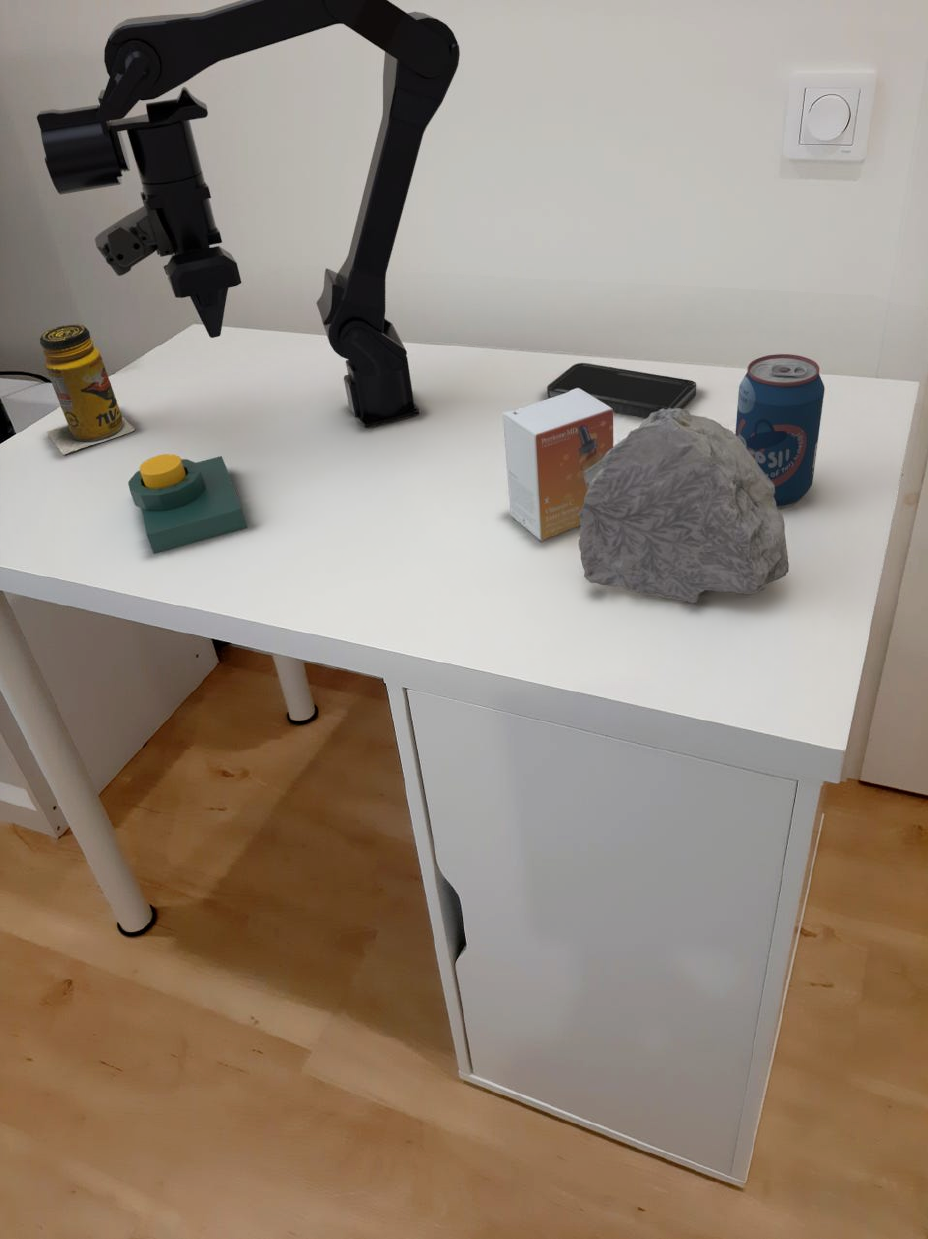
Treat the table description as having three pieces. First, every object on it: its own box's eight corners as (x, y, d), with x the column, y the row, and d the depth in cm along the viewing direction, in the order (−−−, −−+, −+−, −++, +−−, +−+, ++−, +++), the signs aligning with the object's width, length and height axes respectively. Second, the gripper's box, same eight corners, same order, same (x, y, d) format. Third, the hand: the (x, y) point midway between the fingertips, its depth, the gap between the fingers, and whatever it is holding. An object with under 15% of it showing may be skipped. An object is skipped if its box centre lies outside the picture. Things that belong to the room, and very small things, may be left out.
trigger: (183, 465, 97) (178, 450, 96) (188, 483, 94) (183, 467, 93) (143, 476, 96) (137, 460, 95) (147, 494, 93) (141, 478, 92)
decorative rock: (571, 590, 80) (563, 424, 71) (594, 546, 84) (589, 385, 75) (777, 622, 74) (798, 445, 65) (790, 572, 79) (811, 401, 69)
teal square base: (227, 474, 102) (217, 440, 100) (247, 528, 93) (237, 492, 91) (136, 498, 100) (124, 463, 98) (148, 555, 91) (135, 519, 89)
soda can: (725, 508, 87) (734, 383, 80) (736, 470, 92) (745, 349, 85) (807, 516, 85) (824, 388, 77) (813, 476, 90) (830, 352, 82)
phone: (669, 412, 100) (543, 388, 107) (668, 422, 101) (543, 398, 108) (700, 381, 105) (578, 361, 112) (699, 391, 106) (578, 370, 113)
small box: (540, 543, 86) (533, 435, 79) (509, 516, 90) (499, 411, 83) (616, 514, 88) (615, 407, 82) (582, 489, 92) (578, 385, 86)
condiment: (135, 431, 113) (101, 331, 106) (63, 456, 110) (23, 355, 102) (116, 411, 118) (83, 314, 111) (47, 434, 115) (7, 336, 107)
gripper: (79, 173, 97) (129, 325, 106) (90, 216, 82) (145, 387, 92) (191, 152, 99) (229, 302, 109) (219, 190, 85) (261, 360, 94)
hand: (214, 336), depth 101 cm, fingers closed
